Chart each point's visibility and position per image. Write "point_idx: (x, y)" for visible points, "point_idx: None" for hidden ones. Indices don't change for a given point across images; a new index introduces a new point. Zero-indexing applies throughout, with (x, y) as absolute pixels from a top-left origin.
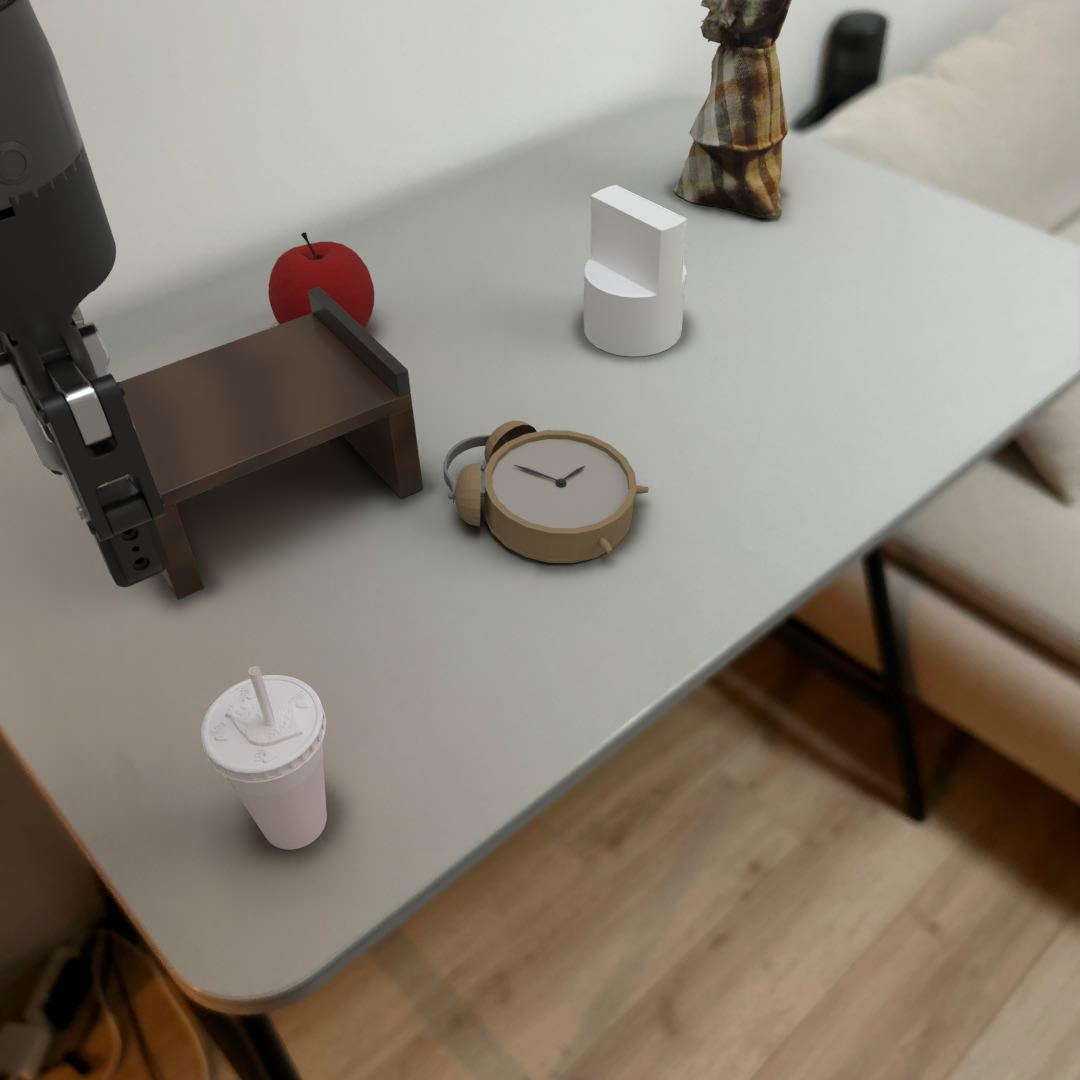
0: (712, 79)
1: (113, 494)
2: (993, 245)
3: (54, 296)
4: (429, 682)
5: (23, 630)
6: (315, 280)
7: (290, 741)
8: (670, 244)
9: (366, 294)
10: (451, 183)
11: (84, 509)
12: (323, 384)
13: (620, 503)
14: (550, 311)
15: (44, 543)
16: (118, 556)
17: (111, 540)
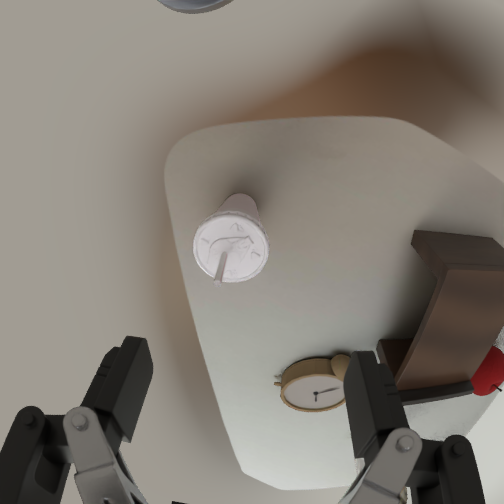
0: (406, 493)
1: (59, 453)
2: (300, 485)
3: None
4: (272, 297)
5: (454, 157)
6: (485, 380)
7: (206, 256)
8: (358, 472)
9: None
10: (482, 412)
11: (38, 435)
12: (432, 370)
13: (288, 399)
14: None
15: (491, 195)
16: (94, 377)
17: (86, 395)
